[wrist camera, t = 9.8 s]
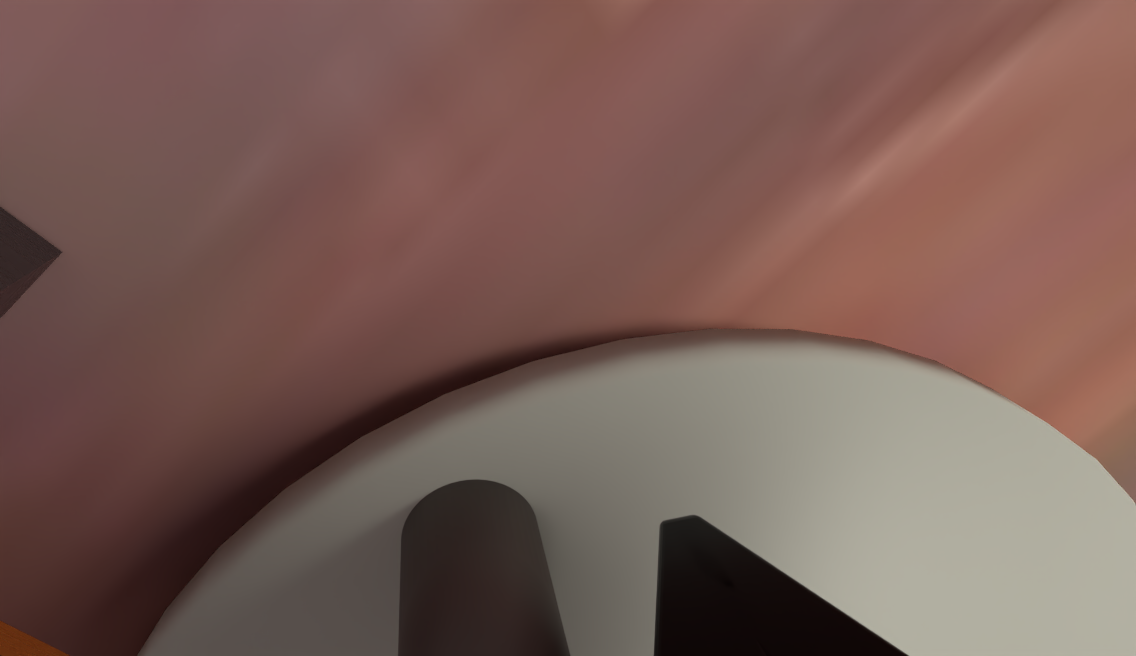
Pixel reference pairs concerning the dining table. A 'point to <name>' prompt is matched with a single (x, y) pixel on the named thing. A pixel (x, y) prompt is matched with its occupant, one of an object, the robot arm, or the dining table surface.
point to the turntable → (681, 511)
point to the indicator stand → (3, 273)
